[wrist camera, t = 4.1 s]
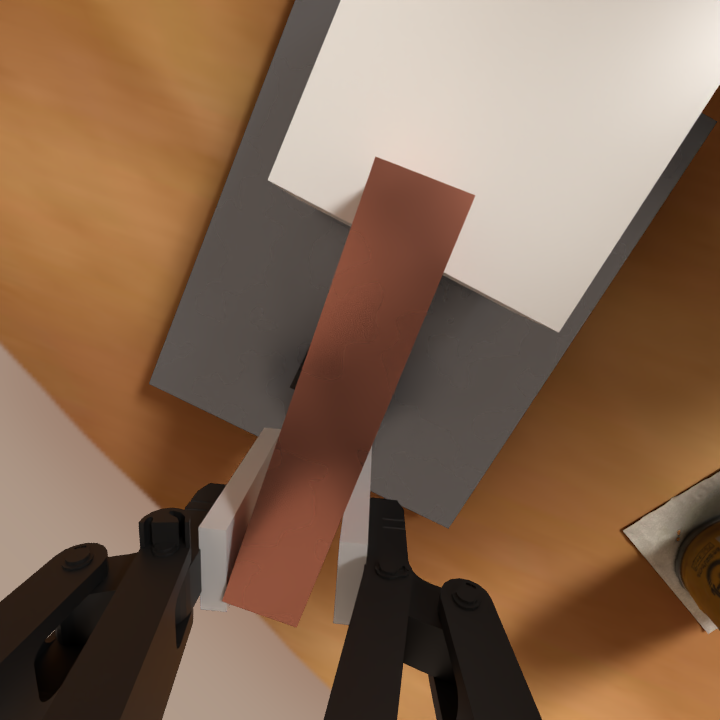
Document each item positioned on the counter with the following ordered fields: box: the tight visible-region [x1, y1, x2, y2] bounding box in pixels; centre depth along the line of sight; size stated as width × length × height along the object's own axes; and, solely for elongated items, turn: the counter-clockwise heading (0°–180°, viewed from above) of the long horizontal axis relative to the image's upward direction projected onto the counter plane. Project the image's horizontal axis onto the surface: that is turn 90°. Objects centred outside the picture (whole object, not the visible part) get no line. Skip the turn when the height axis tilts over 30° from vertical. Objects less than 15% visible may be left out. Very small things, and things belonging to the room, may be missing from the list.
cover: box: [268, 0, 720, 332], centre depth 12 cm, size 9×9×4 cm
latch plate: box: [149, 0, 717, 528], centre depth 16 cm, size 20×16×7 cm
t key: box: [222, 156, 475, 627], centre depth 14 cm, size 12×2×8 cm, turn 160°
